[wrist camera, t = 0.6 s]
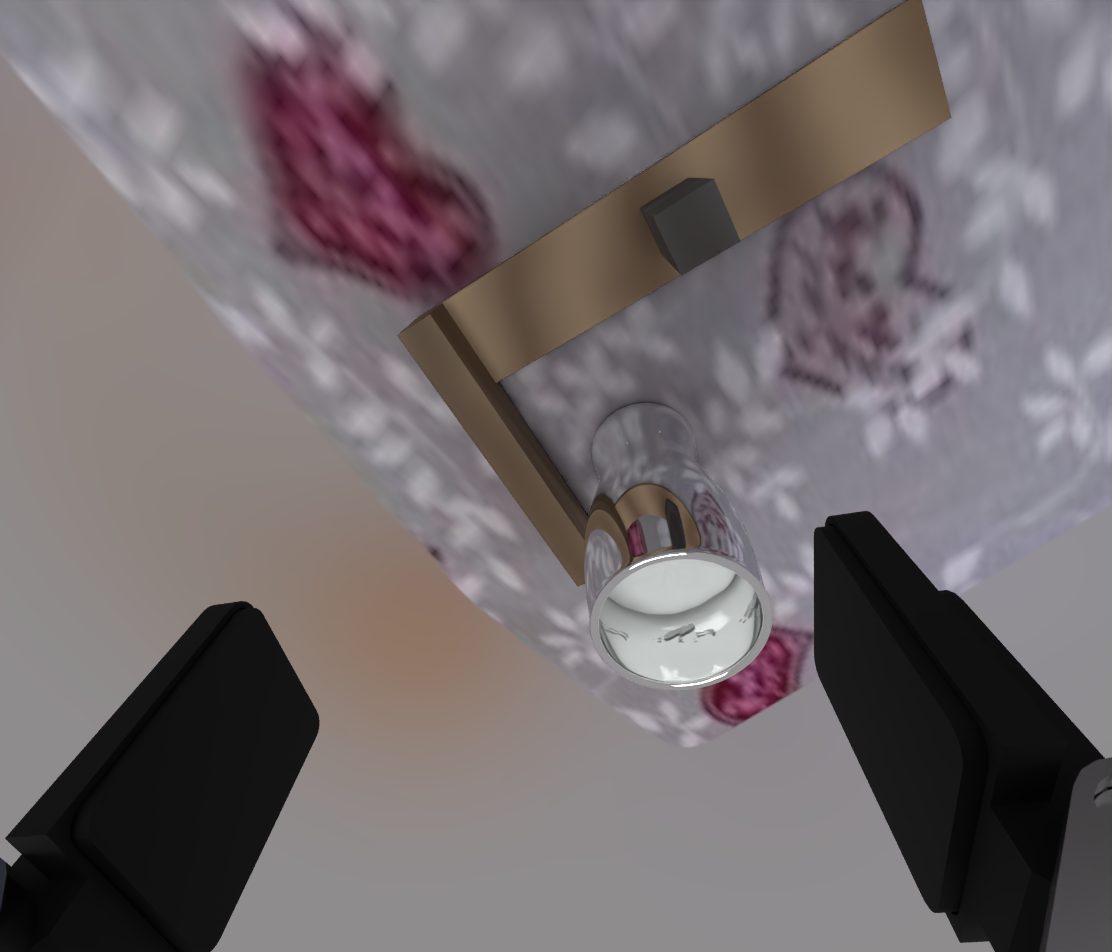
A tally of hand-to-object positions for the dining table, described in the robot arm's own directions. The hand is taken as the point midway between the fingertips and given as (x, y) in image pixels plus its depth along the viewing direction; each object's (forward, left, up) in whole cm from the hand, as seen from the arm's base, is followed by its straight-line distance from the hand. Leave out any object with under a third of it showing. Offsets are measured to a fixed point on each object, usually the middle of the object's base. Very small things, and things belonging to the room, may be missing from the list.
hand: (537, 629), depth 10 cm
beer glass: (0, +9, -24) cm, 25 cm away
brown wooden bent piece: (-6, +5, -24) cm, 25 cm away
